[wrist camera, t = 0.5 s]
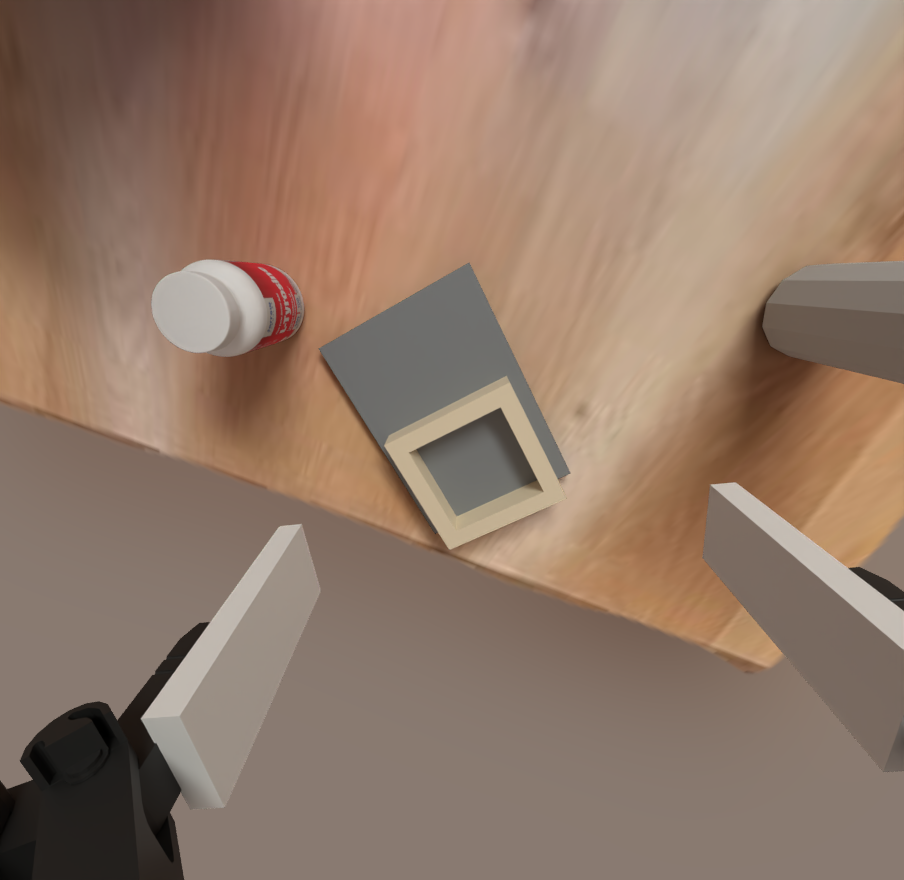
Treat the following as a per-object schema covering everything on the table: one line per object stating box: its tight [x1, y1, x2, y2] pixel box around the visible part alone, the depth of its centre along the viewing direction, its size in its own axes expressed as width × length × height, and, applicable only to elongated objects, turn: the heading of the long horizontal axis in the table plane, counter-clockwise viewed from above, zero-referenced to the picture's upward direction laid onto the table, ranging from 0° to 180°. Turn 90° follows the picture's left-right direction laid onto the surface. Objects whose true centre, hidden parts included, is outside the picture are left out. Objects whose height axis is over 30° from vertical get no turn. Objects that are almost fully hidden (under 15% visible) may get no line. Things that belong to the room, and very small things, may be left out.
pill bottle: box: [151, 260, 304, 357], centre depth 31 cm, size 6×6×11 cm
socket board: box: [319, 263, 570, 550], centre depth 37 cm, size 21×14×4 cm
